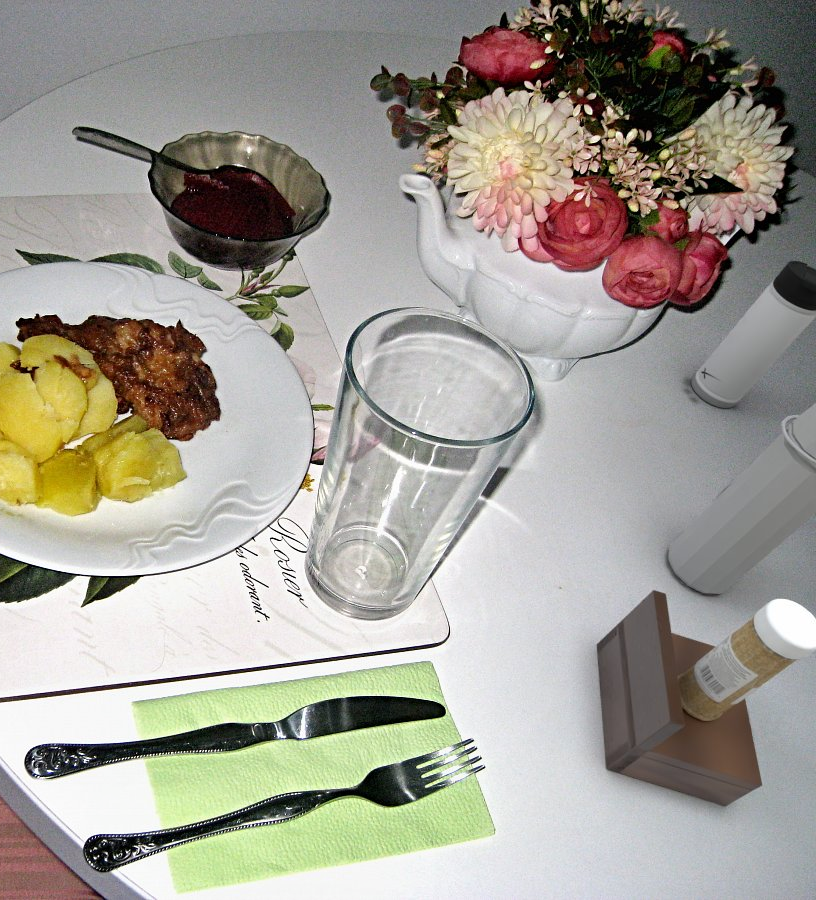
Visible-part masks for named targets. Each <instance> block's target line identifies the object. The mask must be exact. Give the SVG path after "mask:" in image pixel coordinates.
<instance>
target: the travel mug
mask: <svg viewBox="0 0 816 900" xmlns="http://www.w3.org/2000/svg"><path fill="white" fill-rule="evenodd" d="M814 319H816V269H815V268H814V267H812V266H809V264H808V263H806V262H803V261H801V260H790V261H788V262H787V263H786V265H784V267H783V269H781V270H780V272H779V273H778V274H777V276H776V277H775V278H773V280H772V281H771V282H770V284H768V286H767V287H766V288H764V290H763V291H762V293H761V294H760V295H759V296H758V297H757V299H756V300H755V301H754V303H753V304H752V305H750V307H749V308H748V309H747V311H745V313H744V315H743V316H742V317H741V318H740V319H739V320H738V322H737V323H736V324H735V326H733V328H732V329H731V330H730V331H729V333H728V334H727V335H726V336H725V338H723V340H722V341H721V342H720V343H719V344H718V345H717V347H716V349H715V350H713V352H712V353H711V354H710V356H709V357H708V358H707V359H706V360H705V362H703V364H702V365H701V366H700V368H699V369H698V370H697V371H696V372H695V374H694V375H693V376H692V378H691V387H692V389H693V391H694V392H695V394H696V395H697V396H698V397H699V398H700V399H702V400H703V401H704V402H705V403H708V404H710V405H712V406H715V407H717V408H721V409H730V408H734V407H735V406H736V405H737V404H738V403H739V402H740V401H741V400H742V399H743V398H744V397H745V395H746V394H747V393H749V391H750V390H751V389H752V388H753V386H755V384H756V383H757V382H759V380H760V379H761V378H762V377H763V376H764V375H765V373H766V372H767V371H768V370H769V369H770V368H771V367H772V366H773V365H774V364H775V362H777V360H778V359H779V358H780V357H781V356H782V355H783V353H784V352H785V351H786V350H787V349H788V348H789V347H790V346H791V345H792V344H793V343H794V341H795V340H796V339H797V338H798V337H799V336H800V335H801V334H802V333H803V332H804V331H805V330H806V328H807V327H808V326H809V325H810V324H811V323H812V322H813V320H814Z"/></svg>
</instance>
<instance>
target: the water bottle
mask: <svg viewBox="0 0 816 900" xmlns="http://www.w3.org/2000/svg"><path fill="white" fill-rule="evenodd" d="M791 420H793V421H792V422H790V423H789V424H788V425H787V428H786V424H787V423H788V422H789V421H791ZM780 426H781V433H780V434H779V435H778V436H777V437H776V438H775V439H774V440H773V441H772V442H771V444H769V445H768V447H766V448H765V449H764V450H763V451H762V452H761V453H760V454H759V455H758V456H757V457H756V458H755V459H754V460H753V461H752V463H750V464H749V465H748V466H747V468H745V470H743V471H742V472H740V474H739V475H737V476H736V477H735V478H734V479H733V480H731V481H730V482H729V483H728V484H727V485H726V486H725V487H723V488H722V490H721V491H719V493H718V494H717V495H716V496H715V497H714V499H713V501H712V502H711V503H710V504H709V505H708V506H707V507H706V508H705V509H704V510H703V511H702V512H701V513H700V514H699V515H698V517H696V518H695V519H694V520H693V521H692V522H691V523H690V524H689V525H688V526H687V527H686V528H685V529H684V530H683V531H682V532H681V533H680V534H679V535H678V536H677V537H676V538H675V539H674V540H673V541H672V542H671V543H670V544H669V548H668V555H667V556H668V557H667V560H668V563H669V565H670V567H671V569H672V570H673V573H674V575H675V576H676V577H678V579H679V580H681V582H683V583H684V584H685V585H686V587H689V588H691V589H693V590H696V591H697V592H700V593H702V594H712V595H713V594H714V595H715V594H716V595H717V594H719V595H722V594H724V593H725V592H726V591H727V590H729V589H730V588H731V587H732V586H734V585H735V584H736V583H737V582H738V581H739V580H740V579H742V578H744V576H746V575H747V573H749V572H750V571H751V570H752V569H753V568H754V567H756V566H757V565H758V564H759V563H760V562H762V561H763V560H764V559H765V558H766V557H767V556H768V555H770V554H771V553H772V552H773V551H774V550H775V549H776V548H778V547H779V546H780V545H781V544H782V543H784V541H786V540H787V539H788V538H789V537H791V536H792V535H793V534H794V533H795V532H796V531H798V529H800V528H801V527H802V526H803V525H804V524H806V523H807V522H808V521H809V520H811V519H812V518H813V517H814V516H815V515H816V402H815V403H814V404H812V405H811V406H810V407H808V408H807V409H806V410H804V412H802V413H801V414H793V415H787V416H786V417H785V418H784V419H783V420H782V421H781V422H780Z"/></svg>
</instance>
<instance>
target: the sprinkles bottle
mask: <svg viewBox="0 0 816 900" xmlns="http://www.w3.org/2000/svg"><path fill="white" fill-rule="evenodd" d="M715 646H716V647H715V648H714V649H712V650H711V651H710V652H708V653H707V654H706V655H705V656H704V657H702V658H701V659H700V660H699V661H698V662H697V663H696V664H695V665H694V666H692V667H691V668H690V669H689V670H687V671H686V672H685V673H683V674H680V675H679V676H678V682H679V689H680V696H681V703H682V708H683V709H684V710H685V711H686V712H687V713H689V714H690V715H691V716H693V717H695V718H697V719H700V720H702V721H712V720H715V719H717V718H719V717H720V716H721V715H722V714H723V712H725V711H726V710H727V709H729V708H731V707H732V706H733V705H734V704H737V703H739V702H740V701H742V700H743V699H745V700H746V699H747V698H748V697H749V696H751V695H752V694H754V692H756V691H758V690H759V689H760V688H761V687H762V686H763V685H764V684H766V683H767V682H768V681H770V680H772V679H773V678H774V677H775V676H777V675H779V674H780V673H781V672H783V671H784V670H785V669H786V668H788V667H789V666H791V665H792V664H794V662H796V661H798V660H799V661H800V660H802V659H805V658H807V657H808V656H810V654H813V653H814V652H815V651H816V617H815V616H814V615H813V614H812V613H811V612H810V611H809V610H808V609H807V608H805V607H804V606H802V605H801V604H799V603H797V602H795V601H793V600H791V599H787V598H774V599H772V600H770V601H769V602H767V603H766V604H764V605H763V606H762V607H761V608H759V609H758V610H757V611H756V612H755V614H754V615H753V616H752V618H751V619H750V620H748V621H747V622H746V623H745V624H744V625H742V626H741V627H739V628H738V629H737V630H735V631H734V632H732V633H731V634H730V635H728V636H727V637H726V638H724V639H723V640H722V641H721V642H720V643H719V644H717V645H715Z"/></svg>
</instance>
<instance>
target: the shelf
mask: <svg viewBox="0 0 816 900" xmlns="http://www.w3.org/2000/svg"><path fill="white" fill-rule="evenodd" d="M670 619H671V618H670V613H669V606H668V599H667V594H666V592H662V591H659V590H655V589H652V590H651V592H649V593H648V595H647V596H645V597H644V598H643V599H642V600H641V601H640V602H639V603H638V604H637V605H636V606H635V607H634V608H633V609H632V610H631V611H630V612H629V613H627V615H626V616H624V618H623V619H621V620H620V621H619V622H618V623H617V624H616V625H615V626H614V627H613V628H611V630H609V632H607V634H606V635H605V636H603V638H602V639H600V640H599V641H598V642H597V643H596V647H597V661H598V673H599V674H598V675H599V687H600V689H599V690H600V697H601V698H600V702H601V712H602V714H601V715H602V728H603V741H604V752H605V754H604V755H605V769H606V770H608V771H610V772H614V773H618V774H621V775H625V776H627V777H631V778H634V779H637V780H640V781H643V782H647V783H651V784H653V785H657V786H660V787H663V788H667V789H669V790H673V791H676V792H678V793H683V794H685V795H689V796H692V797H696V798H699V799H702V800H705V801H708V802H710V803H714V804H717V805H721V806H724V807H727V806H729V805H730V804H733V803H734V802H736V801H737V800H739V799H741V798H743V797H745V796H746V795H749V794H750V793H751V792H753V791H755V790H757V789H758V788H760V787H762V786H763V782H762V777H761V772H760V771H761V770H760V767H759V766H760V765H759V761H758V756H757V752H756V745H755V741H754V735H753V732H752V726H751V720H750V715H749V711H748V705H747V700H746V698H745V699H743V700H742V701H740V702H739V703H737V704H734V705H733V706H732V707H731V708H729V709H727V710H726V711H725V712H723V714H722V715H721V716H720V717H719V718H717V719H715V720H712V721H702V720H700V719H697V718H695V717H693V716H691V715H690V714H689V713H687V712H686V711H685V710H684V709H683V708H682V703H681V696H680V689H679V682H678V676H679V675H680V674H683V673H685V672H686V671H687V670H689V669H690V668H691V667H692V666H694V665H695V664H696V663H697V662H698V661H699V660H700V659H701V658H702V657H704V656H705V655H706V654H707V653H708V652H710V651H711V650H712V649H714V648H715V647H716V646H717V645H713V644H709V643H706V642H703V641H699V640H696V639H693V638H689V637H686V636H683V635H680V634H677V633H674V632H672V627H671V620H670Z"/></svg>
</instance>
